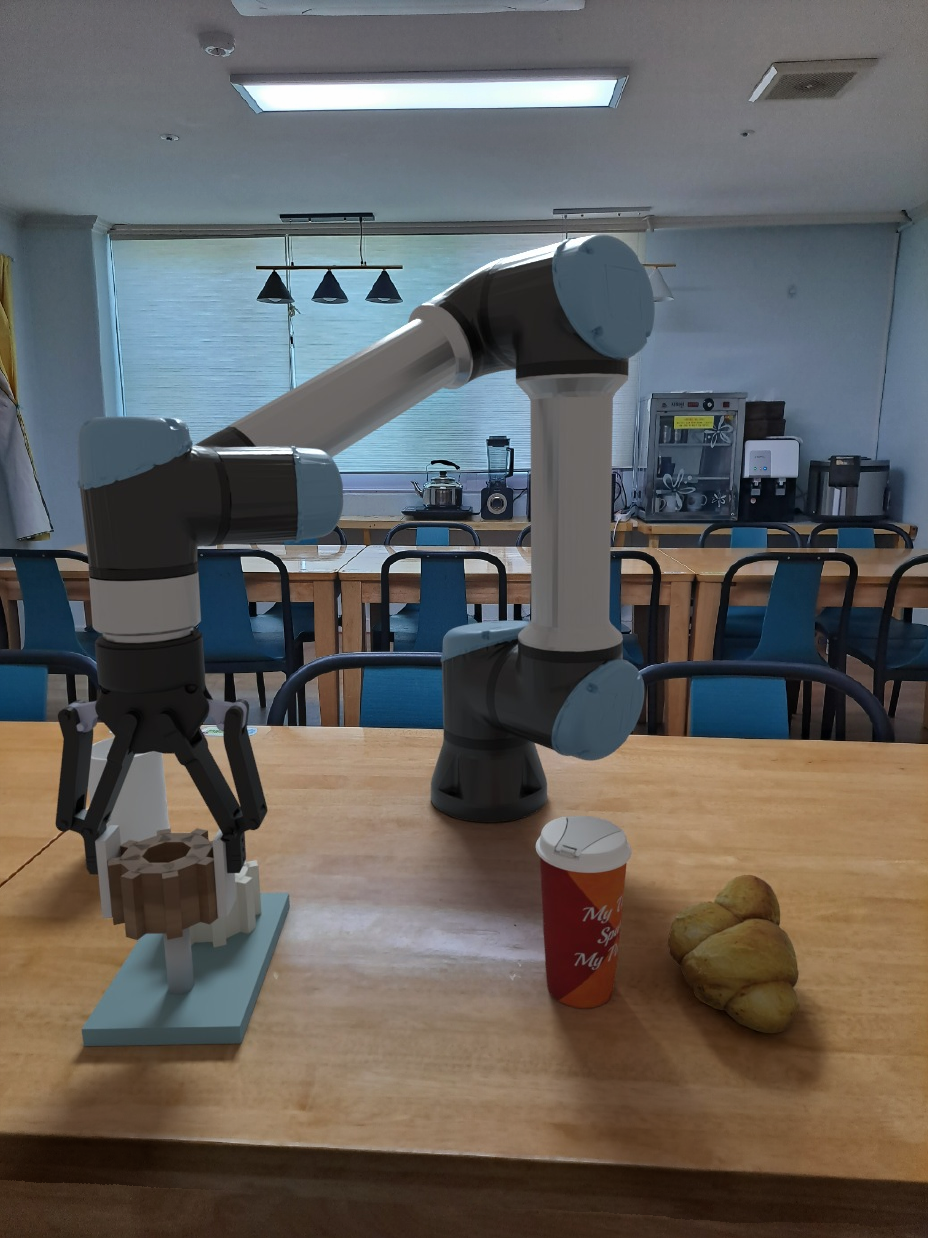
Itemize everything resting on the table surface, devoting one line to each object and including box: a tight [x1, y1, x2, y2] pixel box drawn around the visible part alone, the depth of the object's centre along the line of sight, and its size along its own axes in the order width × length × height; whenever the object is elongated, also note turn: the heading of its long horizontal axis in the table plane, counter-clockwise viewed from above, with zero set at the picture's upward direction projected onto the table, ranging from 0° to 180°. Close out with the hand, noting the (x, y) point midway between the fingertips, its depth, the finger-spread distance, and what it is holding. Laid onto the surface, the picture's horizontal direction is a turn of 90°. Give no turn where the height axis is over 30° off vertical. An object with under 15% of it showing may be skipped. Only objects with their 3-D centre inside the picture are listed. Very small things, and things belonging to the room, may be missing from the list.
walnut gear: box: [108, 828, 219, 941], centre depth 64 cm, size 8×8×5 cm
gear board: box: [81, 892, 291, 1047], centre depth 70 cm, size 12×19×8 cm, turn 1°
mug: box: [87, 736, 171, 845], centre depth 91 cm, size 12×8×12 cm
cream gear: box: [189, 859, 262, 947], centre depth 75 cm, size 8×8×5 cm
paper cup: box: [535, 815, 632, 1010], centre depth 67 cm, size 8×8×14 cm
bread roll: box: [667, 874, 800, 1034], centre depth 67 cm, size 13×10×8 cm
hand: (170, 908), depth 64 cm, fingers closed on walnut gear, 8 cm apart
